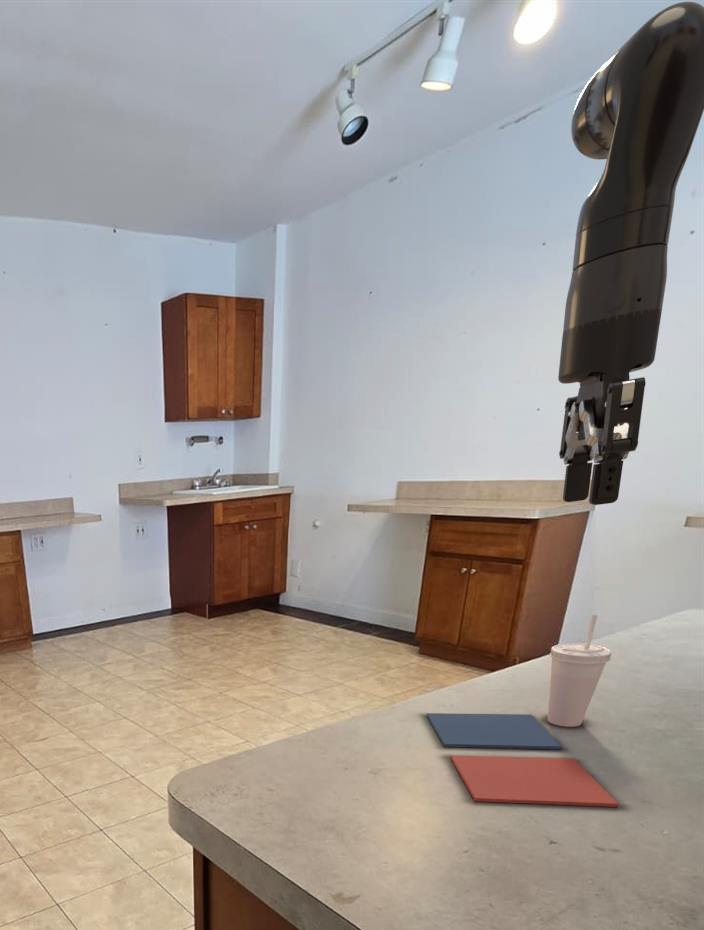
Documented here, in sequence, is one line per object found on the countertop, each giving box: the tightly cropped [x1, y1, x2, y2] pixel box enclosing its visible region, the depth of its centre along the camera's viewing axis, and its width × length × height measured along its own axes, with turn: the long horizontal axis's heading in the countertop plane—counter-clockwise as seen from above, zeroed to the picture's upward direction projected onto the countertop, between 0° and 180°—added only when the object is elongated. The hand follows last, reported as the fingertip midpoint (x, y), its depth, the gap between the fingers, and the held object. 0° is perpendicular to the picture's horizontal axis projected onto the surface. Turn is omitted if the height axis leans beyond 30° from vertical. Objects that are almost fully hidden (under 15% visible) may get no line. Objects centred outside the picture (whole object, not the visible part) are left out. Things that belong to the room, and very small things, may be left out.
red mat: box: [450, 754, 619, 808], centre depth 69 cm, size 13×11×1 cm
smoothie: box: [547, 613, 613, 728], centre depth 81 cm, size 6×6×14 cm
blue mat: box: [426, 712, 563, 750], centre depth 82 cm, size 13×11×1 cm
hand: (588, 502), depth 66 cm, fingers open, 8 cm apart
